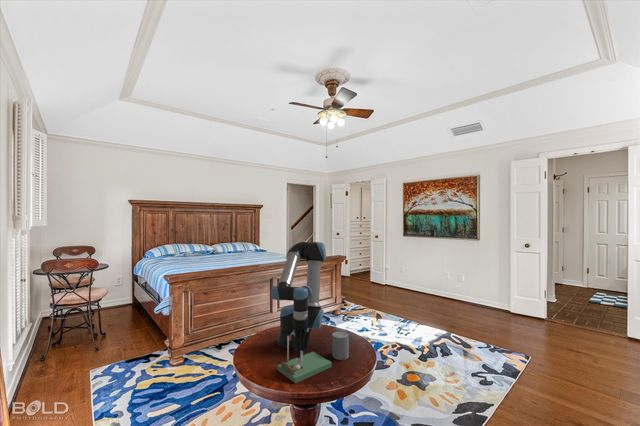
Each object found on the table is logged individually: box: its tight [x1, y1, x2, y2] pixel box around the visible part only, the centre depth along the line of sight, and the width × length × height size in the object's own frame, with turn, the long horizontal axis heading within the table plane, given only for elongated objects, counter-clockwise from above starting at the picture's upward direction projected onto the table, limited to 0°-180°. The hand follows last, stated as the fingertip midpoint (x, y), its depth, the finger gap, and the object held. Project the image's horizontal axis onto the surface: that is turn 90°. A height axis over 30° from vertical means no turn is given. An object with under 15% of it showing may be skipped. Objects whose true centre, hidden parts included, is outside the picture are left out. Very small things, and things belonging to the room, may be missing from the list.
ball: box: [293, 364, 301, 371], centre depth 157 cm, size 4×4×4 cm
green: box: [276, 336, 333, 384], centre depth 161 cm, size 16×24×16 cm, turn 130°
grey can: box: [331, 330, 350, 361], centre depth 175 cm, size 10×10×12 cm
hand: (300, 362), depth 159 cm, fingers closed
